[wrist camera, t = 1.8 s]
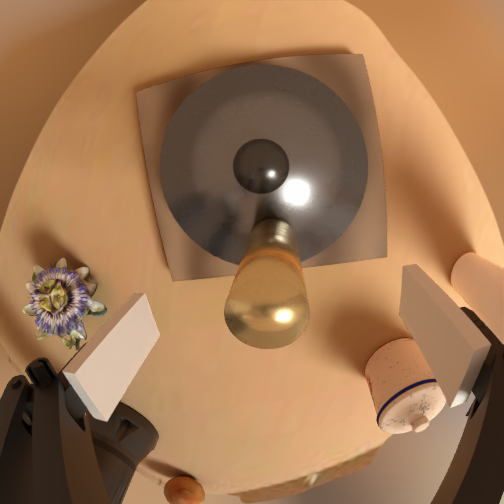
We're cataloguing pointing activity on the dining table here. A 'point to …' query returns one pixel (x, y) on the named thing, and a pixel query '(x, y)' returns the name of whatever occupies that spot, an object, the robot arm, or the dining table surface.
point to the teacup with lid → (403, 387)
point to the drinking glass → (481, 289)
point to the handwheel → (264, 187)
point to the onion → (184, 491)
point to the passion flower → (62, 301)
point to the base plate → (358, 101)
